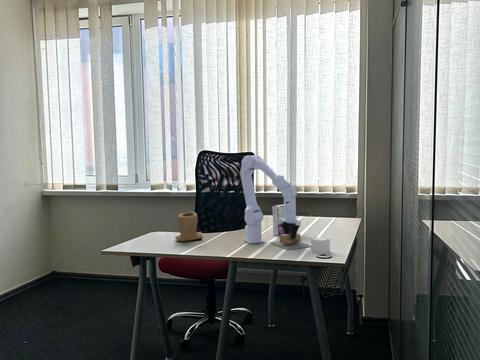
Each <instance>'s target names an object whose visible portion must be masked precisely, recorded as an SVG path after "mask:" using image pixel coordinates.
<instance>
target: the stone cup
mask: <svg viewBox="0 0 480 360" xmlns="http://www.w3.org/2000/svg"><path fill="white" fill-rule="evenodd" d="M198 220H199V217H198V214H197V213H196V212H194V211H186V212H183V213H180V214H178V216H177V225H178V228H179V231H180V232H179V233H180V234H179V235H177V236H175V240H176V241H178V242H188V241H189V242H190V241H196V240H201V239H204V236H203V234H202V231H197V226H198Z"/></svg>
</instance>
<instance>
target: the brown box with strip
mask: <svg viewBox="0 0 480 360" xmlns="http://www.w3.org/2000/svg"><path fill="white" fill-rule="evenodd" d="M279 241H280V243H282V244H292V243H299V242H301V234H300V233H297V234H296V238H295V239H291V234H281V235H280V236H279Z"/></svg>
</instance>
